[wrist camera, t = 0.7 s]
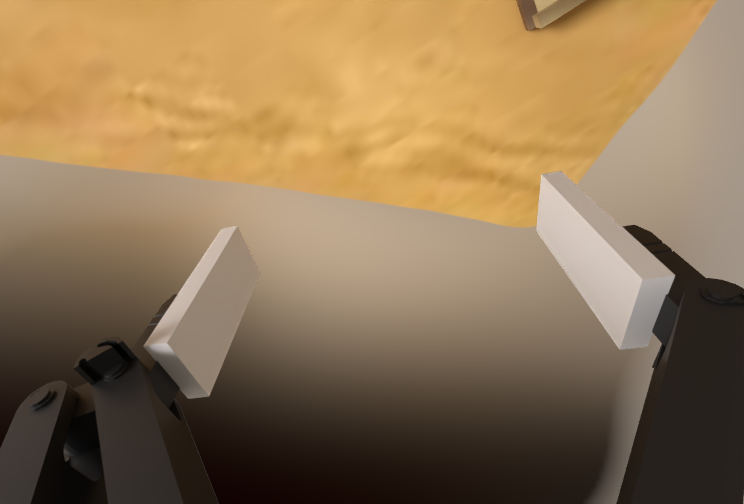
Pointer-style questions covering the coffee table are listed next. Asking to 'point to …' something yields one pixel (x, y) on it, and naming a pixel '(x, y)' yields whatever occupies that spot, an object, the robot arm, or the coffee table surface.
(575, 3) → the shallow beige tray
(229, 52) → the coffee table surface
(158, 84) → the coffee table surface
